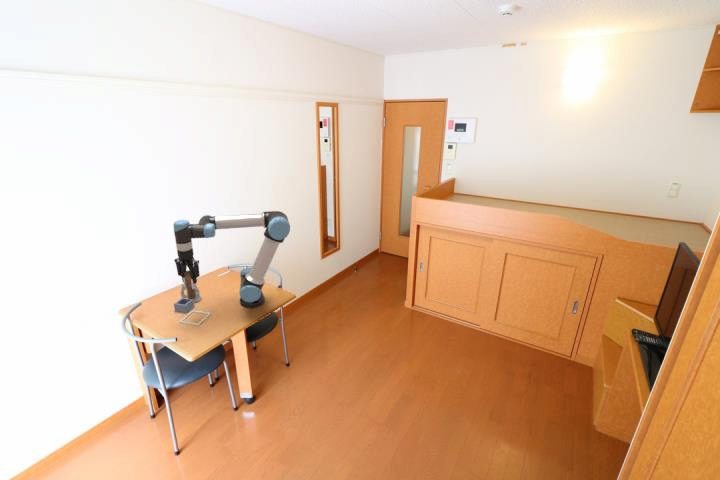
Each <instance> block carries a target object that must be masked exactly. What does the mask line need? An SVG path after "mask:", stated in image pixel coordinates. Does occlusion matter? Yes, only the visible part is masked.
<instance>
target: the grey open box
mask: <svg viewBox="0 0 720 480" xmlns="http://www.w3.org/2000/svg"><path fill="white" fill-rule="evenodd" d="M173 308H174V312H175V313H180V314H181V313H182V314H189V313H190V312H191V311H192V309H194V308H195V303H194V300H193V299H188V298H182V297H181V298H180V299H178V300H176V301H175V302H174V303H173Z"/></svg>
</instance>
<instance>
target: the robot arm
mask: <svg viewBox="0 0 720 480" xmlns="http://www.w3.org/2000/svg"><path fill="white" fill-rule="evenodd" d="M257 227H262V228H264V229H265V230H264V232H263V237H264V240H263V242H262V243H261V245H260V248H259V251H258V253H257V256H256V258H255V260H254V262H253V264H252V265H251V266H250V267H249V266H248V267H246V268H243V269H241V270H240V272H239V275H240V285H239V297H240V298H239V304H240V306H241V307H244V308H247V309H253V308H257V307H261V306H262V305H263V304H264V303H265V300H266V299H265V295H264V293H263V290H262V289H263V287H264V285H265V283H266V280H265V279H264V278H265V277H266V274H267V272H268V271H269V267H270V265H271V263H272V261H273V259H274V257H275V254H276V253H277V250H278V248H279V245H280V244H283V243H284V241H285V239H286V238H287V237H288V236H289V234H290V232H291V225H290V222H289V218H288V216H287V214H285V213H284V212H282V211H279V210H278V211H277V210H273V211H271V210H270V211H268V210H267V211H262V212H261V213H252V214H251V213H250V214H249V213H248V214H237V215H236V214H234V215H233V214H232V215H219V216H216V215H215V216H212V215H210V214H205V215H203V216H201V217H200V219H199V221H198V223H190V221H189V220H187V219H180V220H176V221H174V222H173V234H174V239H175V248H176V250H177V251H176V252H177V253H176V254H177V257H176V258H175V259H174V260H173V261H174V263H175V267H176V271H177V276H179V277H181V279H182V283H183V284H184V287H185V288H186V281H185V275H184V272H185V271H187V269H188V271H190V273H191V276H192V278H191V284H192V289H195V288H196V287H197V286H198V285H197V284H198V280H197V279H198V278H199V277H200V266H199V264H200V260H199V259H197V260H196V259H195V258H194V248H193V240H192V239H211V238H214V237H215V236H216V230H227V229H228V230H229V229H242V228H243V229H244V228H257Z"/></svg>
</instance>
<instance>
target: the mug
mask: <svg viewBox="0 0 720 480" xmlns="http://www.w3.org/2000/svg"><path fill="white" fill-rule="evenodd" d="M196 286H197V287H196V288H195V293H196V298H195V299H193V300H194V304H195V303H199V302H200V301H201V300H202V297H201V294H200V289H199V286H198V285H196ZM185 291H187V288H185V287H184V283H182V284H181V289H180V296H181V298H188V294H187V293H186V294H185Z"/></svg>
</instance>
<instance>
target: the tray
mask: <svg viewBox="0 0 720 480" xmlns="http://www.w3.org/2000/svg"><path fill="white" fill-rule="evenodd" d="M193 313H195V314H200V315H201V314H202V315H206V316H204V318H202V319H201V320H200V321H199V322H198V323H194V322H189V321H185V320H186V319H187V318H189V316H191V315H192V314H193ZM211 315H212V312H208V311H200V310H192V309H191V310H190V311H189V312H188V313H187V314H186V315H185V316H184V317H183V318H182V319H180V320H179V321H178V322H179V324H185V325H189V326H197V327H199V326H200V325H201V324H203V322H205V321H206V319H208V318H209V317H211Z"/></svg>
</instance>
